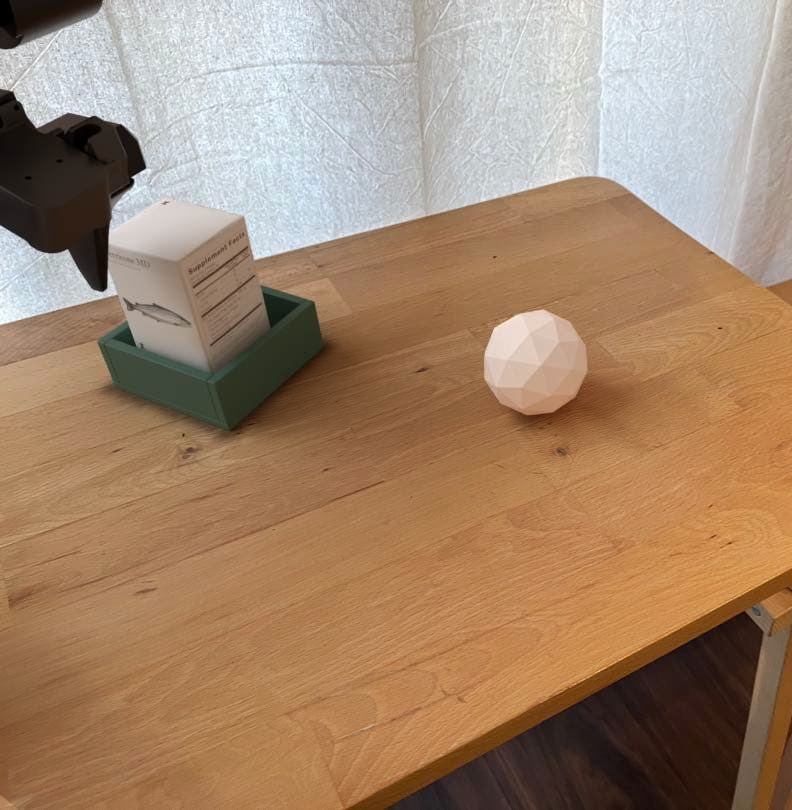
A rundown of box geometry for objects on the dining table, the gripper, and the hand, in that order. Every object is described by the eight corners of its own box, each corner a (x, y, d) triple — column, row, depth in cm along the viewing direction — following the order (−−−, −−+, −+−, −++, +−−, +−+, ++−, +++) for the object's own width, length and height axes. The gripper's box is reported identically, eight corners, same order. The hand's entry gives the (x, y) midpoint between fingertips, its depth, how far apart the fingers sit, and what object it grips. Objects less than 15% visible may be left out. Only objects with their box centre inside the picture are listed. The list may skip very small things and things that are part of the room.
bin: (115, 387, 69) (95, 341, 66) (216, 312, 77) (203, 267, 74) (229, 431, 66) (214, 383, 63) (324, 347, 73) (314, 301, 70)
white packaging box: (145, 380, 69) (91, 238, 61) (208, 329, 74) (166, 192, 66) (220, 404, 67) (175, 261, 59) (280, 350, 72) (246, 211, 64)
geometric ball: (561, 431, 69) (612, 398, 63) (466, 422, 66) (509, 385, 59) (556, 343, 72) (604, 302, 65) (465, 329, 69) (505, 285, 62)
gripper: (-141, 193, 36) (16, 463, 46) (177, 41, 48) (244, 280, 59) (-308, 145, 39) (-127, 406, 50) (29, 15, 52) (117, 245, 62)
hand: (44, 328), depth 55 cm, fingers open, 9 cm apart
